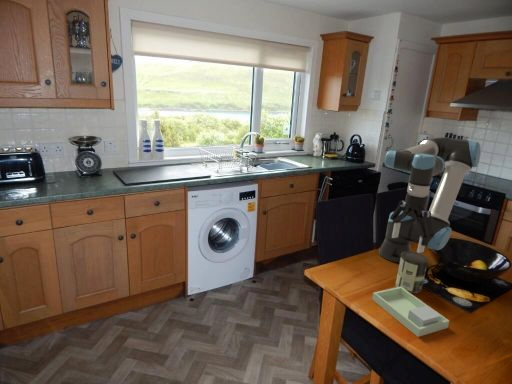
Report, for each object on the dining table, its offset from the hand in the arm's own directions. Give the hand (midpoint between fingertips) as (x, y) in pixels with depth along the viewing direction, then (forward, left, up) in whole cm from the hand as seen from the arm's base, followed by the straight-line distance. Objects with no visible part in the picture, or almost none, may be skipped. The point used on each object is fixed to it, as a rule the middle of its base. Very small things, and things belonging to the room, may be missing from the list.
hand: (406, 244), depth 137 cm
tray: (+11, +16, -19) cm, 27 cm away
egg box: (+11, +22, -19) cm, 31 cm away
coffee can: (-4, +2, -20) cm, 20 cm away
